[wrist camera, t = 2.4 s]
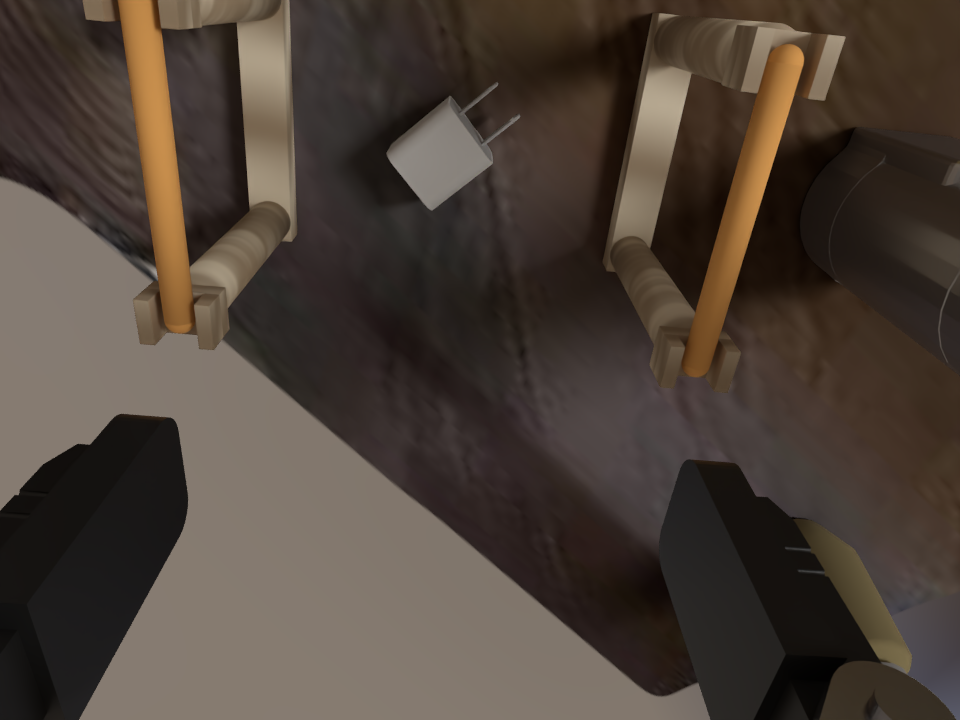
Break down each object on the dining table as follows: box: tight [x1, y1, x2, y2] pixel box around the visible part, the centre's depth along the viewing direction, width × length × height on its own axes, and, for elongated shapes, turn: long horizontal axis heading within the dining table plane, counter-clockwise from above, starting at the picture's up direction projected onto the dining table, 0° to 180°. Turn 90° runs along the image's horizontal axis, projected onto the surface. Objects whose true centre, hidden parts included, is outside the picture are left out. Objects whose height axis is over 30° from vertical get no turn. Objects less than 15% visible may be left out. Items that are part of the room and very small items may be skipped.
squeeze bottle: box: [793, 519, 912, 674], centre depth 47 cm, size 8×8×18 cm
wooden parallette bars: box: [83, 0, 845, 393], centre depth 32 cm, size 14×25×16 cm, turn 84°
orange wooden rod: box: [681, 44, 804, 377], centre depth 26 cm, size 13×1×1 cm, turn 174°
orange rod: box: [118, 0, 196, 334], centre depth 24 cm, size 13×1×1 cm, turn 174°
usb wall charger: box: [386, 82, 520, 210], centre depth 37 cm, size 4×7×4 cm, turn 127°
